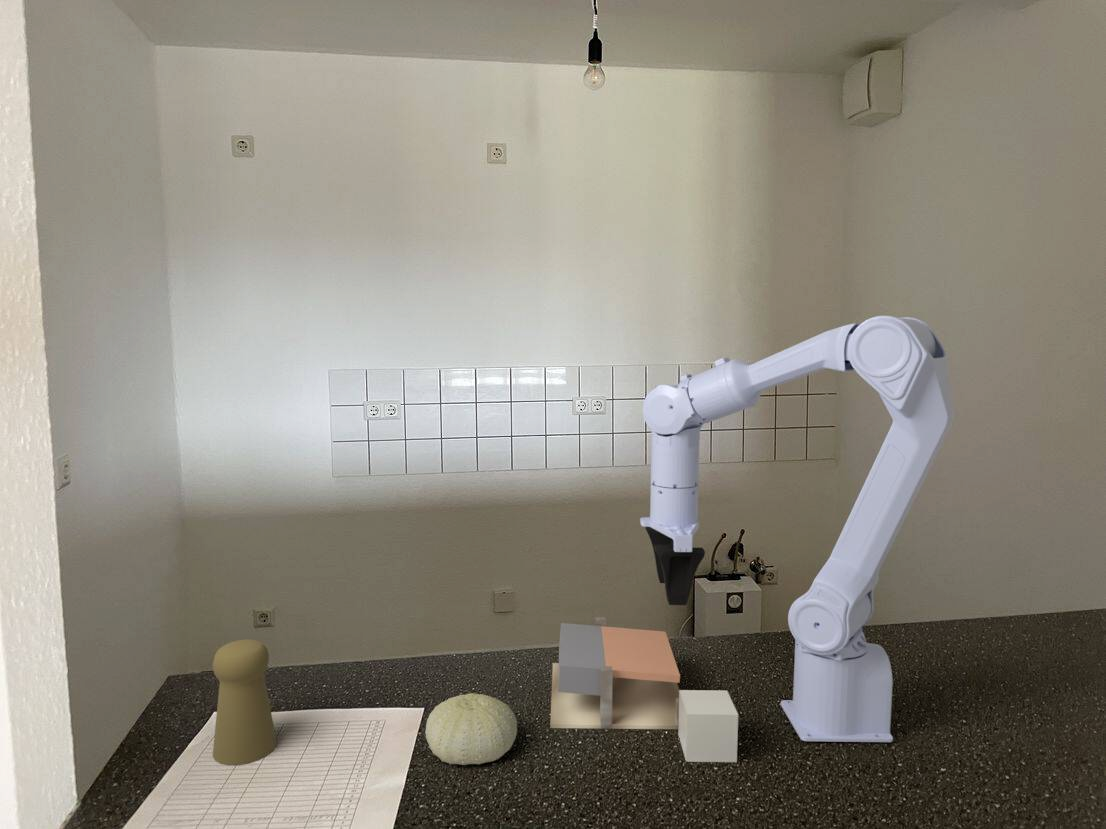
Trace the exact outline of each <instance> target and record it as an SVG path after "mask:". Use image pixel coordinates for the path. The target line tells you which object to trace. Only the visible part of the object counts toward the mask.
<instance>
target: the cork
mask: <svg viewBox="0 0 1106 829" xmlns="http://www.w3.org/2000/svg"><path fill="white" fill-rule="evenodd" d="M269 655H270V654H269V650H268V648H267V647H266V646H265V644H264V643H263V642H262V641H259V640H256V639H238V640H234V641H231V642H228V643H225V644H224V645H222V646H221V647H220V648H218V650H216V652H215V654H214V658H213V662H212V670H213V673H214V675H215V677H216V679H217V680H218V681H219V686H218V696H217V698H218V699H217V709H216V716H215V729H214V739H213V747H212V757H213V759H214V761H215V762H217V763H219V764H220V765H225V766H241V765H245V764H246V765H248V764H251V763H255V762H257V761H259V760H261V759H263V758H265V757H267V756H268V755H269V754H271V753H272V752H273V751H274V750H275V748H276V747H277V737H276V731H275V726H274V725H275V724H274V720H273V715H272V710H271V706H270V700H269V695H268V689H267V682H266V679H265V672H266V671H267V670H268V667H269V659H270V658H269V657H270V656H269Z"/></svg>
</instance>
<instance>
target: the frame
mask: <svg viewBox="0 0 1106 829" xmlns="http://www.w3.org/2000/svg"><path fill="white" fill-rule="evenodd" d="M606 619H607V618H606V616H595V626H604V627H607V626H606V625H607V624H606ZM551 674H552V676H551V694H550V695H551V702H550V721H549V722H550V723H549V724H550V725H549V726H550V729H599V730H600V729H602V730H603V729H608V730H609V729H612V730H613V729H614V730H617V729H618V730H620V729H621V730H678V726H679V690H680V688H679V685H678V683H676V682H664V681H652V680H640V679H628V678H617V677H612V674H613V670H612V666H601V696H599V695H587V694H576V693H564V692H558V674H559V662H552V673H551Z"/></svg>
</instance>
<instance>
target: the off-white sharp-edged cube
mask: <svg viewBox="0 0 1106 829" xmlns="http://www.w3.org/2000/svg"><path fill="white" fill-rule="evenodd" d="M731 698H732V697H731V695H730V693H729V691H728V690H722V689H721V690H719V689H718V690H714V689H713V690H711V689H710V690H708V689H707V690H703V689H702V690H701V689H700V690H697V689H692V690H691V689H683V690H682V689H679V726H678V729H677V730H678V733H677V735H678V739H679V738H680V739H679V742H680V746H681V750H682V752H683V756H684V759H685V762H688V763H689V762H691V763H696V762H697V763H737V762H738V736H739V735H738V734H739V732H738V731H739V713H738V711H737V708H736V706H735V705H734V703H733V700H732V699H731Z"/></svg>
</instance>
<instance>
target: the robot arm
mask: <svg viewBox="0 0 1106 829" xmlns="http://www.w3.org/2000/svg"><path fill="white" fill-rule="evenodd" d="M713 363H714V365H715V366H714V367H711V368H710V369H707V370H705V371H702V372H700V373H697V374H694V375H692V373H687V374H684V375H682V376H680V378H679V380H680V382H679V383H678V384H659V385H657V387H656V388H654V389H652V390H651V391H650V392H649V393H648V394H647V395H646V397H645V398H644V401H643V404H642V416H643V420H644V421H645V423H646V425H647V426H648V427H649V429H650V430H651V436H650V437H651V441H650V443H651V444H650V497H649V498H650V506H649V507H650V508H649V515H650V516H648V517H646V516H645V517H644V516H643V517H640V518H639V522H640V523H639V524H640V525H641V527H645V528H644V529H645V531H646V533H647V535H648V537H649V539H650V542H651V546H652V548H653V549H652V550H653V554H654V559H655V567H656V573H657V579H658V581H659V584H664V588H665V595H666V600H667V603H668V605H669V606H687V604H688V601H689V597H690V593H691V589H692V586H693V582H694V578H695V575H696V572H697V570H698V568H699V565H700V563H701V562H702V561H703V559H704V558H705V554H706V551H705V549H704V548H703V547H693V537H694V536H695V534H696V532H697V531H698V530H699V528H700V519H699V476H700V474H699V471H700V470H699V469H700V468H699V467H700V438H701V437H700V436H701V428H702V427H703V426H704V425H705V424H709V423H710V422H714V421H717V420H719V419H722V418H724V417H727V416H730V415H732V414H735V413H738V412H742V411H744V410H748V409H750V408H753V407H755V406H756V405H757V403H758V402H759V400H760V398H761V395H762V393H763V392H764V391H765V390H767V389H768V390H769V389H771V388H774V387H777V386H780V385H783V384H785V383H788V382H791V381H794V380H797V379H800V378H804V377H807V376H810V375H813V374H816V373H819V372H821V371H824V370H828V369H830V370H832V371H833V370H834V371H839V372H853V371H855V372H856V374H858V376H860V377H861V379H863V380H864V381H865V382H866V383H867V384H868V385H869V386H871V387H872V389H874V390H875V391H876V392H877V393H878V395H879V397H880V398H881V400H882V402H883V404H884V406H885V408H886V409H887V411H888V413H889V415H890V417H891V419H892V424H891V425H890V428H889V430H888V433H887V435H886V436H885V438H884V441H883V443H882V445H881V447H880V449H879V452H878V453H877V456H876V458H875V460H874V462H873V464H872V467H871V468H870V470H869V472H868V475H867V477H866V479H865V482H864V484H863V485H862V487H861V490H860V492H859V494H858V496H857V499H856V500H855V503H854V505H853V506H852V508H851V512H850V513H849V516H848V518H847V520H846V522H845V524H844V526H843V528H842V530H841V532H840V534H839V537H838V539H837V541H836V542H835V545H834V547H833V549H832V551H831V553H830V556H829V558H828V559H827V561H826V562H825V564H824V565H823V566H822V568H821V569H820V571H819V572H818V573H817V575H816V576H815V577H814V580H813V582H812V584H811V585H810V588H809V589H808V590H807V591H806V592H805V593H804V594H802V595H801V596H799V597H798V598H796V599H795V600H794V601H793V602H792V604H791V606H790V607H789V610H788V615H787V622H788V627H789V630H790V634H792V636H793V638H794V640H795V641H794V663H793V664H794V667H793V668H794V669H793V670H794V671H793V694H792V695H793V696H792V700H791V699H790V700H789V699H787V700H784V699H783V700H781V701H780V706H781V708H782V710H783V711H784V713H785V715H786V717H787V718H788V720H789V722H790V724H791V725H792V727H793V728H794V731H795V732H796V734H797V736H798V738H800V740H801V741H804V742H823V743H824V742H830V743H831V742H833V743H838V742H839V743H840V742H841V743H842V742H843V743H849V742H850V743H856V742H857V743H892V742H893V741H894V737H893V735H892V734H891V720H892V703H893V683H894V682H893V681H894V680H893V671H892V666H891V660H890V658H889V656H888V654H887V652H886V651H885V649H884V648H883V646H882V645H880V644H876V643H869V642H867V639H866V636H865V633H864V632H863V627H864V626H865V625H867V624H868V622H869V621H870V620H871V618H872V617H873V614H874V612H875V611H874V610H875V609H874V607H875V602H874V592H875V589H876V587H877V585H878V583H879V580H880V576H879V575H880V570H881V568H882V566H883V564H884V562H885V560H886V558H887V556H888V555H889V553H890V551H891V548H892V547H893V544H894V542H895V540H896V538H897V536H898V534H899V533H900V530H901V528H902V527H903V524H904V522H905V521H906V518H907V516H908V514H909V512H910V510H911V509H912V508H911V507H912V506H913V505H914V502H915V500H916V498H917V496H918V494H919V492H920V490H921V488H922V487H923V483H924V482H925V480H926V479H927V477H928V474H929V472H930V470H931V468H932V466H933V464H934V462H935V460H936V458H937V456H938V453H939V451H940V449H941V448H942V446H943V444H944V442H945V440H946V438H947V436H948V433H949V432H950V430H951V427H952V425H953V422H954V421H955V420H954V419H955V413H956V412H955V407H954V400H953V396H952V390H951V383H950V378H949V372H948V352H947V350H946V348H945V346H943V343H942V342H941V340H940V338H939V337H938V336H937V334H936V333H935V331H934V330H933V328H932V327H931V326H930V325H929V324H928V323H926V322H924V321H923V320H921V319H918V318H916V317H911V316H904V317H903V316H902V317H901V316H900V317H898V316H893V315H877V316H873V317H870V318H868V319H865V320H864V321H862V322H861V323H860V322H859V323H857V322H856V323H855V322H854V323H850V324H846V325H842V326H838V327H836V328H832V329H829V330H826V331H824V332H822V333H819V334H817V335H815V336H813V337H810V338H809V339H805V340H804V341H801V342H798V343H797V344H794V345H792V346H790V347H788V348H786V349H783V350H781V351H778V352H776V353H774V354H772V355H770V356H767V357H764V358H762V359H761V360H758V361H756V362H754V363H748V362H747V361H745V360H743V359H741V358H734V359H731V360H730V358H729V357H721V358H720V359H719V358H718V359H717V360H715V361H714V362H713Z"/></svg>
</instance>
